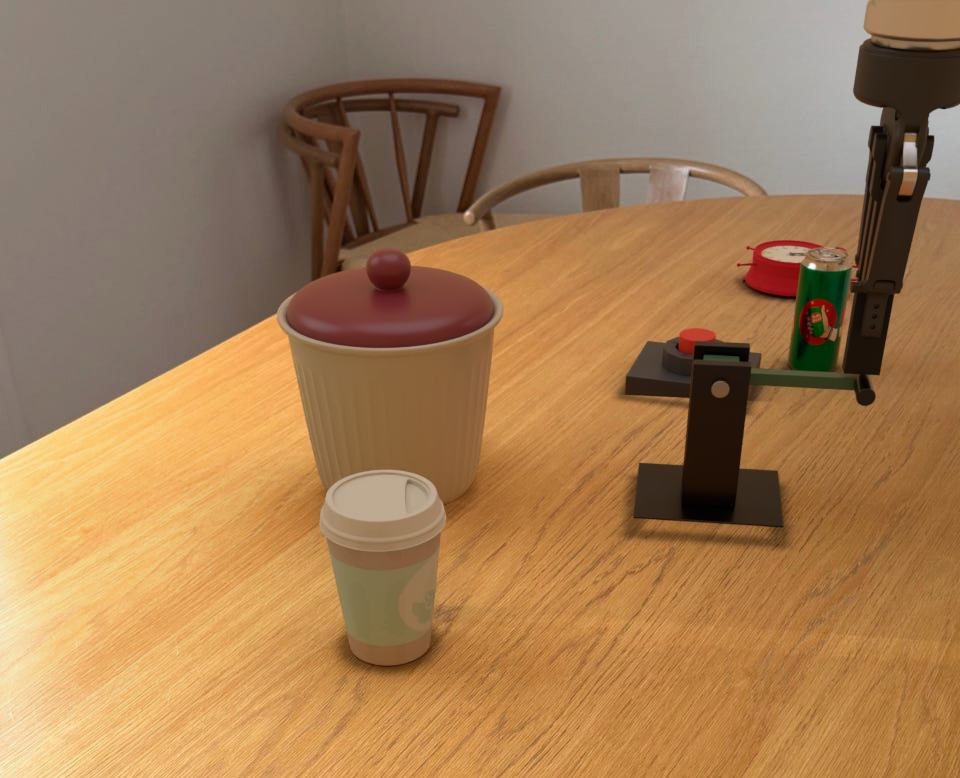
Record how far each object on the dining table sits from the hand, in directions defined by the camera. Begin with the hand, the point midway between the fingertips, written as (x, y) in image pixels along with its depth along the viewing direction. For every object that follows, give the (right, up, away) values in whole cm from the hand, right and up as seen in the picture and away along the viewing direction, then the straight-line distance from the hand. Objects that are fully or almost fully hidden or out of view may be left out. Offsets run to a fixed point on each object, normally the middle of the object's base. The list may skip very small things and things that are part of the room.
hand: (860, 370), depth 98 cm
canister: (-37, -8, +12) cm, 40 cm away
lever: (-5, -1, +2) cm, 6 cm away
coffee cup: (-36, -21, -7) cm, 43 cm away
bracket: (-10, -10, +9) cm, 17 cm away
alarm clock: (+10, +22, +55) cm, 60 cm away
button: (-8, +8, +29) cm, 31 cm away
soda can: (+5, +7, +34) cm, 35 cm away
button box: (-8, +5, +31) cm, 32 cm away
